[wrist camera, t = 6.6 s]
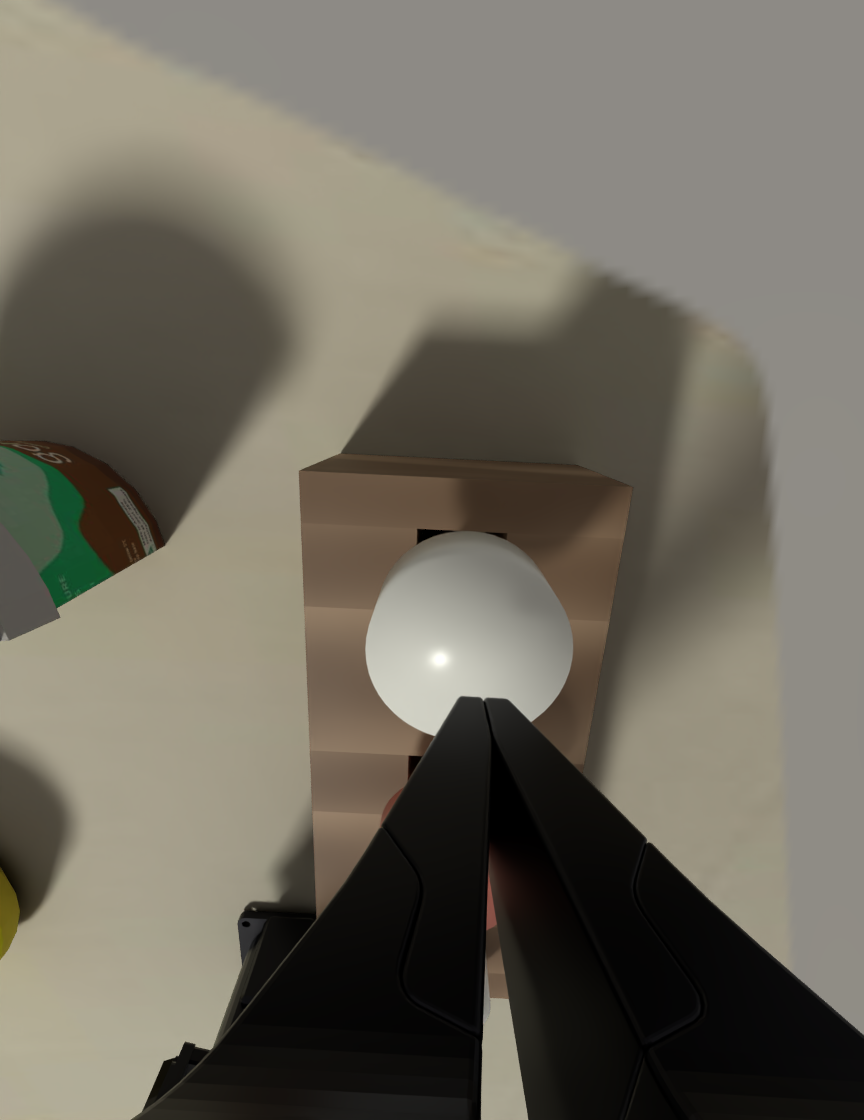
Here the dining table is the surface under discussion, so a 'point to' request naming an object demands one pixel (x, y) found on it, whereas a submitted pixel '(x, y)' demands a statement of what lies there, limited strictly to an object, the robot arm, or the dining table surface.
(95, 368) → the dining table surface
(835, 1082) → the robot arm
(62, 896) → the dining table surface
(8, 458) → the food container
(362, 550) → the walnut plug block
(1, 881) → the mug
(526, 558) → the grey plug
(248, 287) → the dining table surface
